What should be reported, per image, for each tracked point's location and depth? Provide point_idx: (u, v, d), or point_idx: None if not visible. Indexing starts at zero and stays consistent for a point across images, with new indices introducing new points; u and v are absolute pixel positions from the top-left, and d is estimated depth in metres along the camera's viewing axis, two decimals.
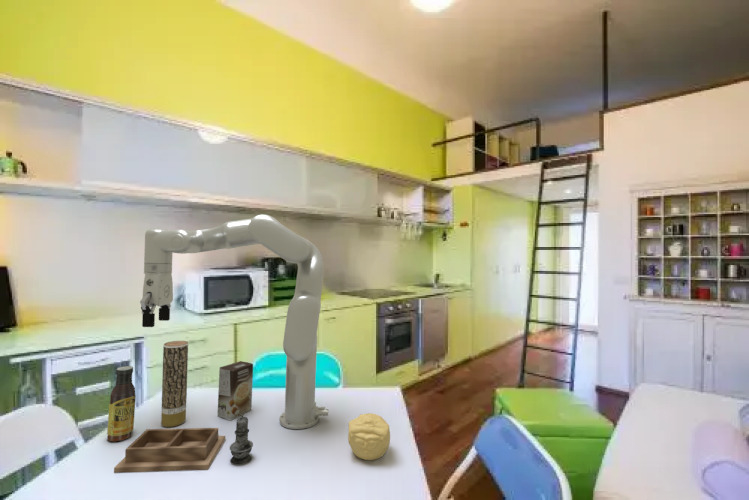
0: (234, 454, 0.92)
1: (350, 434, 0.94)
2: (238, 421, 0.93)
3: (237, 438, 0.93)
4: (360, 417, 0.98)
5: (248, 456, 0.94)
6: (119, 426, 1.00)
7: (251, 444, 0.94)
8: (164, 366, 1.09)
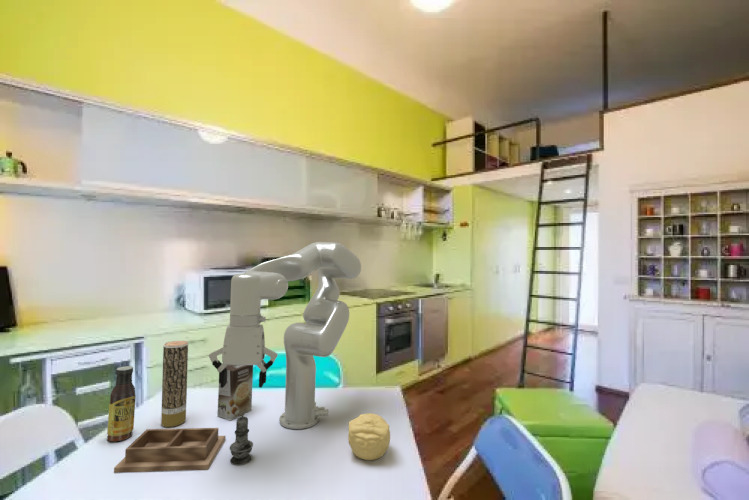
0: (234, 454, 0.92)
1: (350, 434, 0.94)
2: (238, 421, 0.93)
3: (237, 438, 0.93)
4: (360, 417, 0.98)
5: (248, 456, 0.94)
6: (119, 426, 1.00)
7: (251, 444, 0.94)
8: (164, 366, 1.09)
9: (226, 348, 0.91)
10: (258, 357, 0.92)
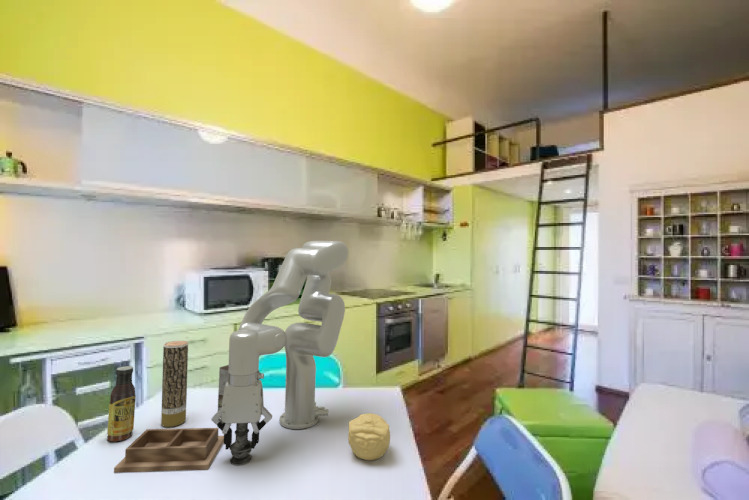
0: (234, 454, 0.92)
1: (350, 434, 0.94)
2: None
3: (237, 438, 0.93)
4: (360, 417, 0.98)
5: (248, 456, 0.94)
6: (119, 426, 1.00)
7: (251, 444, 0.94)
8: (164, 366, 1.09)
9: (225, 407, 0.91)
10: (257, 415, 0.92)
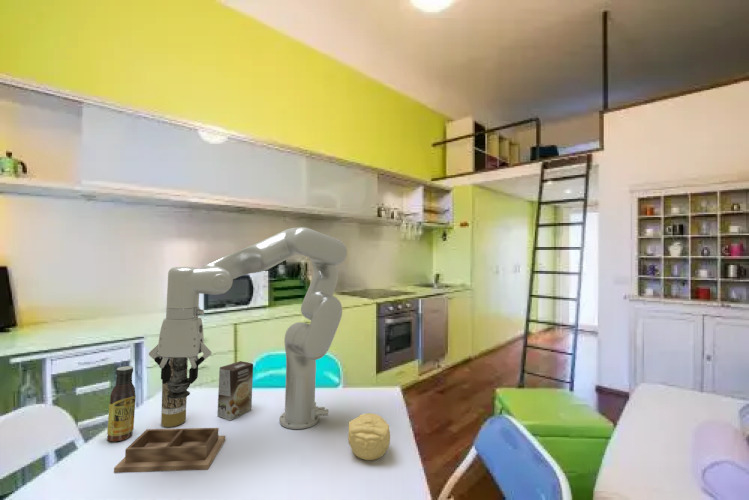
0: (170, 388, 0.92)
1: (350, 434, 0.94)
2: None
3: (174, 373, 0.93)
4: (360, 417, 0.98)
5: (186, 392, 0.95)
6: (119, 426, 1.00)
7: None
8: None
9: (162, 341, 0.92)
10: (194, 350, 0.93)
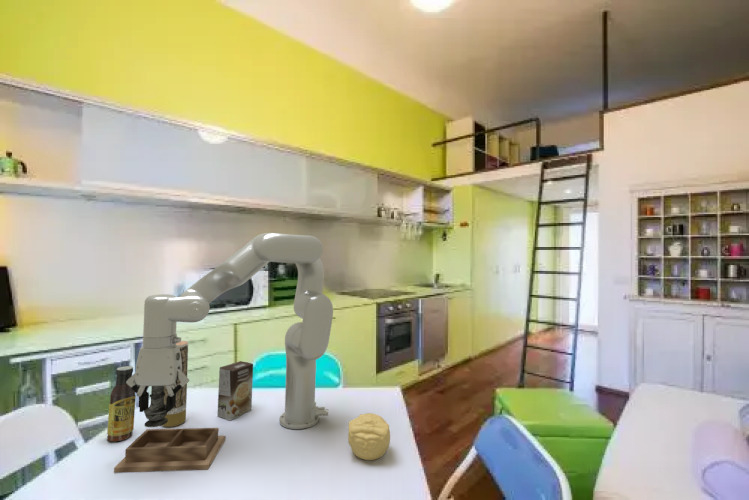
0: (147, 416, 0.92)
1: (350, 434, 0.94)
2: None
3: (151, 401, 0.93)
4: (360, 417, 0.98)
5: (164, 419, 0.95)
6: (119, 426, 1.00)
7: None
8: None
9: (138, 369, 0.92)
10: (171, 378, 0.93)
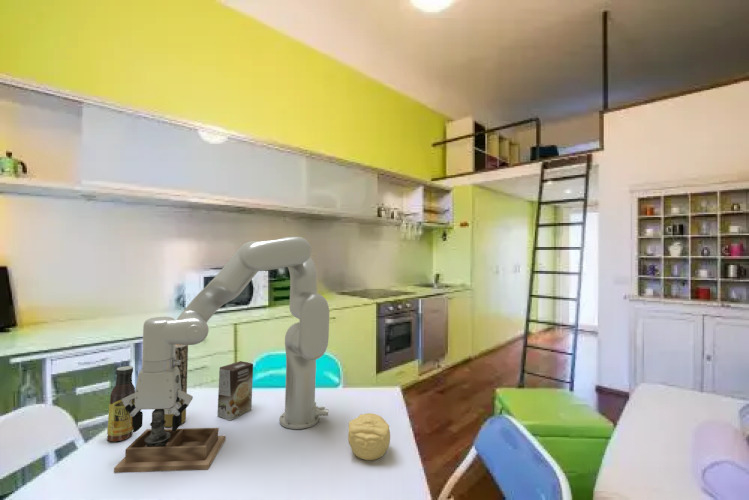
0: (148, 445, 0.92)
1: (350, 434, 0.94)
2: (153, 412, 0.94)
3: (152, 429, 0.93)
4: (360, 417, 0.98)
5: None
6: (119, 426, 1.00)
7: (168, 436, 0.95)
8: None
9: (138, 393, 0.92)
10: (171, 401, 0.93)
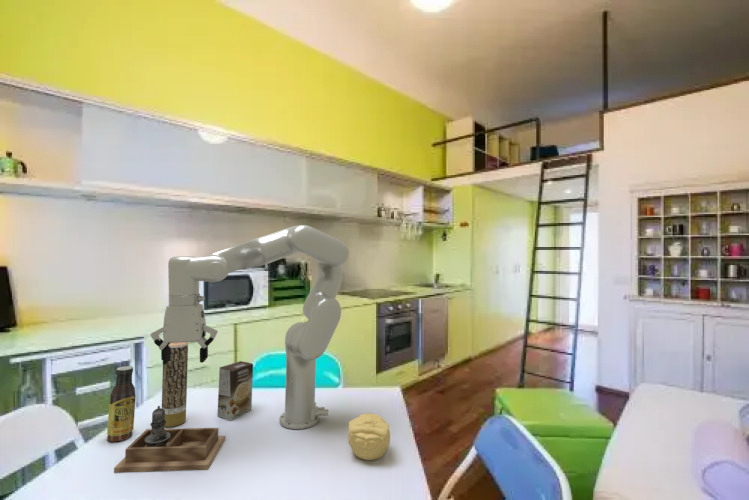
0: (148, 445, 0.92)
1: (350, 434, 0.94)
2: (153, 412, 0.94)
3: (152, 429, 0.93)
4: (360, 417, 0.98)
5: None
6: (119, 426, 1.00)
7: (168, 436, 0.95)
8: (164, 366, 1.09)
9: (166, 327, 0.97)
10: (197, 334, 0.98)
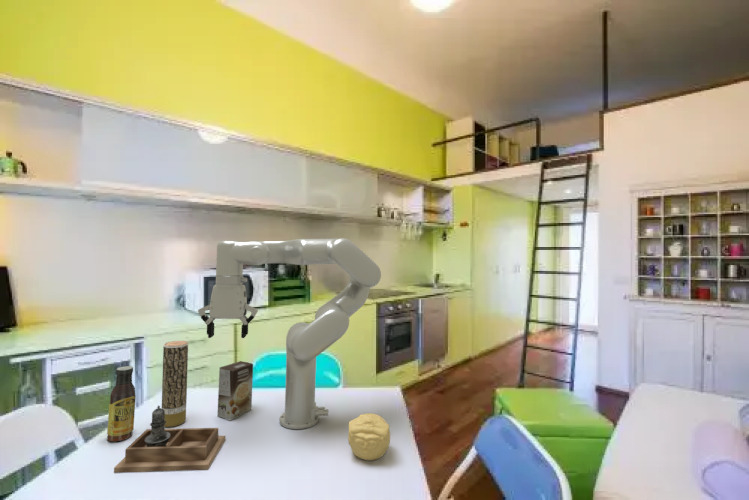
0: (148, 445, 0.92)
1: (350, 434, 0.94)
2: (153, 413, 0.94)
3: (152, 429, 0.93)
4: (360, 417, 0.98)
5: None
6: (119, 426, 1.00)
7: (168, 436, 0.95)
8: (164, 366, 1.09)
9: (213, 304, 1.06)
10: (240, 312, 1.07)
